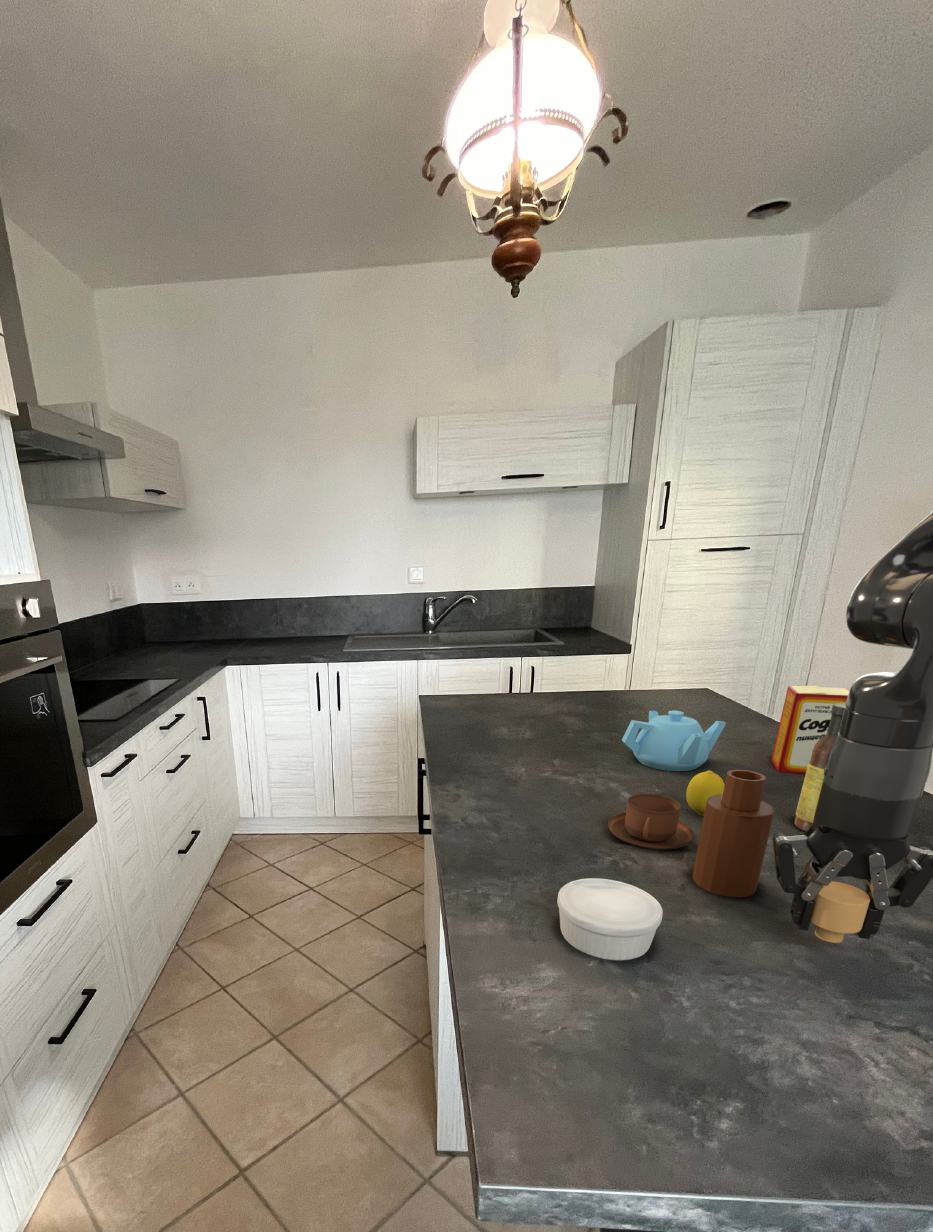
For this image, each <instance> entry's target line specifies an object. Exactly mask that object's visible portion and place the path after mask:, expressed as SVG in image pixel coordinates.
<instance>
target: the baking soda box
mask: <svg viewBox="0 0 933 1232" xmlns="http://www.w3.org/2000/svg"><path fill="white" fill-rule="evenodd" d="M849 691H850V688H847V687H846V688H844V687H827V686H825V687H824V686H819V685H787V689H786V694H785V698H784V703H783V707H782V712H781V716H780V721H779V725H778V730H777V733H776V738H775V741H774V742H775V743H774V747H773V752H772V755H771V761H770V762H771V763H772V765H773V766H774V768H775V769H776V771H777V772H779V773H789V774H792V773H793V774H804V775H806V771H807V767H808V764H809V761H810V760H811V756H812V751H813V748H814V746H815V744H816V743H817V742H818V741H819V740H820V739H822V738H823V737H824V736H825V735H826V734H827V729H828V727H829V724H830V720H831V716H832V714H831V711H832V706H833V705H834V704H836V703H846V701H847V697H848V694H849Z"/></svg>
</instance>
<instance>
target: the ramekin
mask: <svg viewBox="0 0 933 1232" xmlns="http://www.w3.org/2000/svg"><path fill="white" fill-rule="evenodd" d="M556 900H557V907H558V911H559V927H560V932H561V934H562V936H563V938H564V939H565V941H566V942H567V943H568V944H569V945H571V946H572V947H574V948H575V949H576V950H578V951H580V952H582V953H585V954H587V955H590V956H592V957H596V958H598V959H603V960H610V961H629V960H633V959H637V958H639V957H642V956H643V955H645V954H646V953H647V952H648V951H649V949H650V947H651V945H652V942H653V940H654V937H655V936H656V935H655V934H656V933H657V929H658V927H659V926H660V925H661V923H662V920H663V916H664V915H663V914H664V913H663V911H664V910H663V907H662V905H661V904H660V902H659V900H657V899H656V898H655V897H654V896H652V894H650V893H649V892H646V891H645V890H643V889H641V888H639V887H637V886H636V885H635V886H634V885H632V884H629V883H626V882H623V881H619V880H614V879H607V878H597V877H595V878H594V877H593V878H592V877H591V878H590V877H589V878H581V879H576V880H572V881H570V882H568V883H565V884H564V885H563V886H562V887H561V888H560V889H559V890H558V894H557V899H556Z"/></svg>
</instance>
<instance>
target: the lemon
mask: <svg viewBox="0 0 933 1232" xmlns="http://www.w3.org/2000/svg"><path fill="white" fill-rule="evenodd" d="M724 786H725V782H724V780H723V779H722V777H721V776H720V775H718V774H717V773H715V772H713V771H712V770H707V771H703V772H700V773H699V772H698V773H697V774H695V775H694V776H693V777H692V778H691V780H690V781H689V783H688V785H687V788H686V791H685V792H686V793H685V797H686V803H687V804H688V806H689V808H690V809H692V810H693V811H694V812H696V813H697V814H698V815H699V816H703V817H704V813H705V808H706V803H707V800H708V799H709V797H711V796H715V795H723V791H724Z"/></svg>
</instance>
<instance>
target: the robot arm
mask: <svg viewBox="0 0 933 1232" xmlns="http://www.w3.org/2000/svg"><path fill="white" fill-rule="evenodd" d="M849 597H850V598H849V600H848V601H847V602H848V603H847V606H846V611H845V621H846V627H847V628H848V630H849V632H850V634H851V635H852V636H853V637H854V638H855V639H857V640H858V641H861V642H864V643H867V644H872V645H878V646H885V647H894V648H901V649H908V650H912V652H911V654H910V656H909V658H908V659H907V660H906V661H905V663H904V664H903V666H902V667H901V668H900V669H899V670H898V671H879V672H870V673H867V674H866V673H865V674H864V675H861V676H859V677H858V678H857V679H855V680H854V681H853V683H852V684H851V685H850V688H849V690H850V691H849V694H848V697H847V701H846V705H845V708H844V712H843V716H842V720H841V724H840V728H839V733H838V736H837V739H836V741H835V743H834V745H833V748H832V750H831V753H830V756H829V759H828V763H827V765H826V766H825V769H824V779H823V783H822V787H821V791H820V795H819V799H818V803H817V807H816V811H815V815H814V820H813V824H812V826H811V827H810V828H809V829H808V830H807V831H804V834H799V835H791V836H790V835H789V836H787V835H785V833H783V832H777V833H775V834H774V835H773V836H772V846H773V854H774V855H773V856H774V865H775V873H776V874H775V875H776V879H777V881H778V883H779V885H780V887H781V889H782V890H783V892H784V893H786V894H792V895H793V898H792V901H791V906H790V910H789V914H790V918H791V920H792V922H793V923H794V924H795V925H796V927H797V929H798V930H801V931H809V928H810V924H811V917H812V913H813V910H814V906H815V901H814V898H815V897H816V896H817V895H818V893H819V892H820V891H821V890H822V888H823V887H824V886H828V885H829V884H830V883H831V881H834V879H835V878H836V877H838V878H845V877H851V878H855V879H858V880H862V881H863V887H864V892H865V893H867V894H868V895H869V897H870V903H869V906H868V909H867V913H866V916H865V919H864V922H863V926H862V929H861V930H860V931H859V932H857V933H856V935H857V936H858V938H860V939H866V940H869V939H870V938H871V935H876V934H877V933H878V932H879V930H880V926H881V923H882V920H883V917H884V914H885V911H887V910H888V909H889V908H891V907H897V906H899V907H901V908H905V909H907V908H910V907H912V906H913V905H914V904H915V902H916V901H917V900H918V899H919V897H920V895H922V893H923V891H924V890H925V889H926V887H927V886H928V885H929V884H930V882H931V880H932V879H933V851H932V849H930V848H929V847H928V846H920V847H916V846H912V845H910V843H909V840H908V837H909V835H910V834H911V832H912V829H913V826H914V823H915V820H916V817H917V813H918V810H919V807H920V804H921V800H922V797H923V795H924V791H925V788H926V785H927V782H928V779H929V776H930V772H931V768H932V763H933V762H932V760H933V510H932V511H931V512H930V513H929V514H928V515H927V516H926V517H925V518H923V519H922V520H921V521H919V522H918V523H917V524H916V525H915V526H913V528H912V529H911V530H909V531H908V532H907V533H906V534H905V535H904V536H903V537H902V538H901V539H900V540H899V541H898V542H897V543H896V544H895V545H893V546H892V547H891V548H890V549H889V550H888V551H887V552H886V553H885V554H884V555H882V556H881V558H879V559H878V561H876V562H875V563H874V564H873V565H872V567H870V568H869V570H867V572H866V573H865V574H864V575H863V576H862V577H861V579H860V580H859V581H858V582H857V584H856V586H855V587H854V589H853V590H852V593H851V595H850V596H849ZM806 847H807V849H808V850H809V851H810V853H811V855H812V856H811V858H810V859H809V860H808V862H807V863H806V865H805V867H804V870H803V872H802V873H801V875H800V876H799V877H798V878H796V870H795V860H794V858H795V859H796V858H798V857H799V856H800V855H801V851H802V850H803V849H804V848H806ZM903 859H904V860H903ZM902 860H903V864H904V867H903V868H902V869H901V871H900V872H899V873H898V875H897V876H896V878H895V879H894V880H893V882H892V883H891V885H890V886H889V881H888V876H887V870H889V869H890V868H891V867H893V866H894V865H896V864H897V863H899V862H900V861H902Z"/></svg>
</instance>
